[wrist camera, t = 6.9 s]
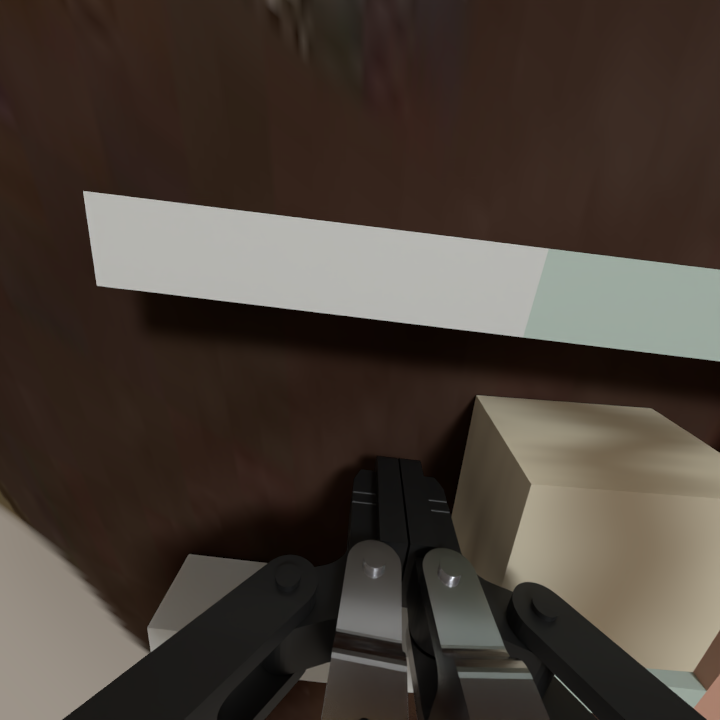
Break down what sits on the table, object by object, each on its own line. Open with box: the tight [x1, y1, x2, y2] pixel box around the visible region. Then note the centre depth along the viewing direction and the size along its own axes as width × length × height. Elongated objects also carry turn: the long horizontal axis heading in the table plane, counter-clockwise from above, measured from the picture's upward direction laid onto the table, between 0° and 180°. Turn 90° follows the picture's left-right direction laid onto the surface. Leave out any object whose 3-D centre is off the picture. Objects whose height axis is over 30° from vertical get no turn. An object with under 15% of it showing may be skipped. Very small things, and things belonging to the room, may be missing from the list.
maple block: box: [451, 395, 720, 672], centre depth 11 cm, size 6×6×4 cm
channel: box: [83, 191, 720, 720], centre depth 12 cm, size 22×16×3 cm
